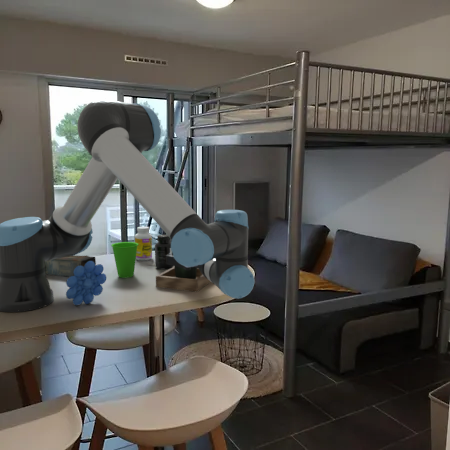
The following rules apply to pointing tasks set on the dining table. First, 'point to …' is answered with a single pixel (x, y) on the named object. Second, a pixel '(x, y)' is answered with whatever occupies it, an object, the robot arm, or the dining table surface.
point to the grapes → (85, 283)
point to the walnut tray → (181, 281)
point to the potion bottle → (185, 273)
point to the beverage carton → (66, 265)
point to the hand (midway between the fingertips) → (193, 251)
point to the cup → (125, 258)
